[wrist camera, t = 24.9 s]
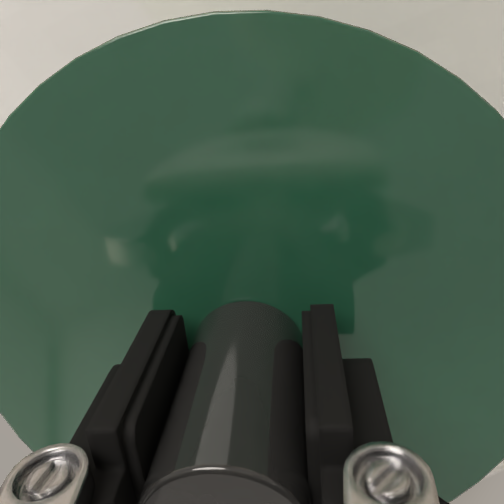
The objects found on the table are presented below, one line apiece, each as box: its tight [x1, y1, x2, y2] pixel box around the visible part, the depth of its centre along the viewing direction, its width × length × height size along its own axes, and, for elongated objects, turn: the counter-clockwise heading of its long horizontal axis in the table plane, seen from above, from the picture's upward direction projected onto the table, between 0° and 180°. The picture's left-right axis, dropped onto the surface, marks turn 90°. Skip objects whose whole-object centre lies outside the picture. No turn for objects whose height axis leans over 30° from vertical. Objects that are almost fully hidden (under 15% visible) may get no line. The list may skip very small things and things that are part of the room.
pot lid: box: [0, 10, 504, 504], centre depth 10 cm, size 15×15×6 cm
